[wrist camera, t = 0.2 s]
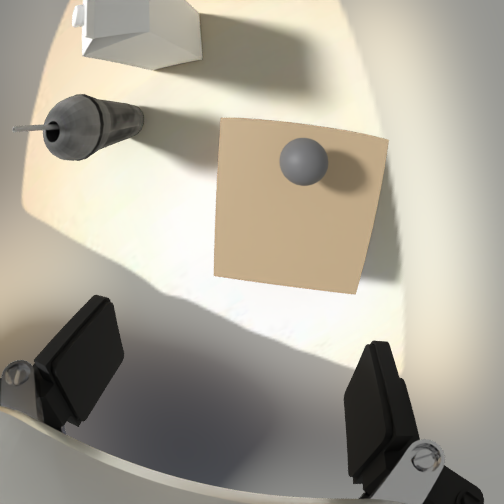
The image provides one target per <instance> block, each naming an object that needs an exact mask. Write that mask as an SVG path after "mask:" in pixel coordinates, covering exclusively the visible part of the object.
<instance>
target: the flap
mask: <svg viewBox="0 0 504 504" xmlns="http://www.w3.org/2000/svg"><path fill="white" fill-rule="evenodd" d="M388 142H389V140H387V139H383V138H378V137H373V136H368V135H363V134H358V133H353V132H347V131H342V130H336V129H329V128H323V127H316V126H309V125H301V124H293V123H284V122H275V121H264V120H252V119H237V118H221V120H220V135H219V152H218V171H217V191H216V216H215V246H214V276H218V277H225V278H231V279H238V280H245V281H253V282H260V283H267V284H275V285H282V286H290V287H297V288H305V289H313V290H321V291H330V292H338V293H347V294H355V295H356V291H357V288H358V284H359V280H360V277H361V273H362V269H363V266H364V262H365V258H366V254H367V250H368V246H369V242H370V237H371V233H372V229H373V224H374V220H375V215H376V210H377V206H378V201H379V196H380V190H381V185H382V179H383V174H384V168H385V162H386V156H387V149H388Z"/></svg>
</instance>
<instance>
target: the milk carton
mask: <svg viewBox="0 0 504 504" xmlns="http://www.w3.org/2000/svg"><path fill="white" fill-rule="evenodd" d="M72 25H73V27H79V26H82V55H83V56H84V57H89V58H95V59H101V60H106V61H112V62H117V63H122V64H126V65H131V66H135V67H140V68H144V69H148V70H155V69H159V68H163V67H168V66H172V65H176V64H181V63H186V62H191V61H196V60H201V59H203V55H202V43H201V30H200V17H199V12H198V11H197V10H195V9H194V8H193V7H192V6H191V5H190V4H189V3H188V2H187V1H186V0H83V5H76V6H75V8H74V11H73V17H72Z"/></svg>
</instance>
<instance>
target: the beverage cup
mask: <svg viewBox="0 0 504 504" xmlns="http://www.w3.org/2000/svg"><path fill="white" fill-rule="evenodd" d="M143 122H144V117H143V113H142V111H141V110H140V109H139V108H138V107H136V106H134V105H130V104H126V103H119V102H113V101H106V100H99V99H96V98H93V97H90V96H88V95H85V94H80V95H75V96H72V97H69V98H66V99H64V100H62V101H60V102H59V103H57V104H56V105H55V106H54V107H53V108H52V109H51V111H50V112H49V114H48V116H47V117H46V119H45V123H44V125H27V126H14V127H13V132H22V131H35V130H43V137H44V142H45V144H46V147H47V148H48V149H49V151H50V152H51V153H52V154H53V155H55V156H56V157H58V158H60V159H63V160H72V161H74V160H77V161H80V160H83V159H86V158H88V157H89V156H90V155H92V154H94V153H95V152H97V151H98V150H99V149H102V148H104V147H107V146H109V145H112V144H115V143H117V142H120V141H122V140H125V139H128V138H130V137H132V136H134V135H136V134H138V133H139V131H140V130H141V129H142V126H143Z"/></svg>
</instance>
